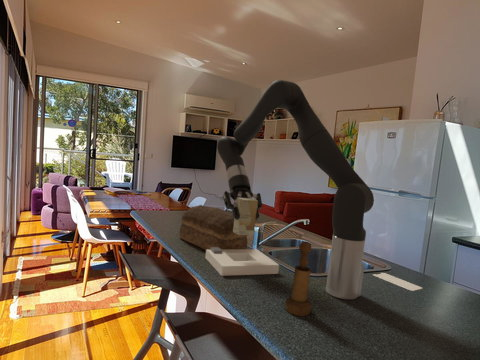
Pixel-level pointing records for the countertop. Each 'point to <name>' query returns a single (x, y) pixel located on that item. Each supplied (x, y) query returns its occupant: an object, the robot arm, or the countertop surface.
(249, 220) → the skincare box
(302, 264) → the brown wooden tall piece
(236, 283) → the countertop surface
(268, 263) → the socket plate
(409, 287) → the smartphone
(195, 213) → the bread
